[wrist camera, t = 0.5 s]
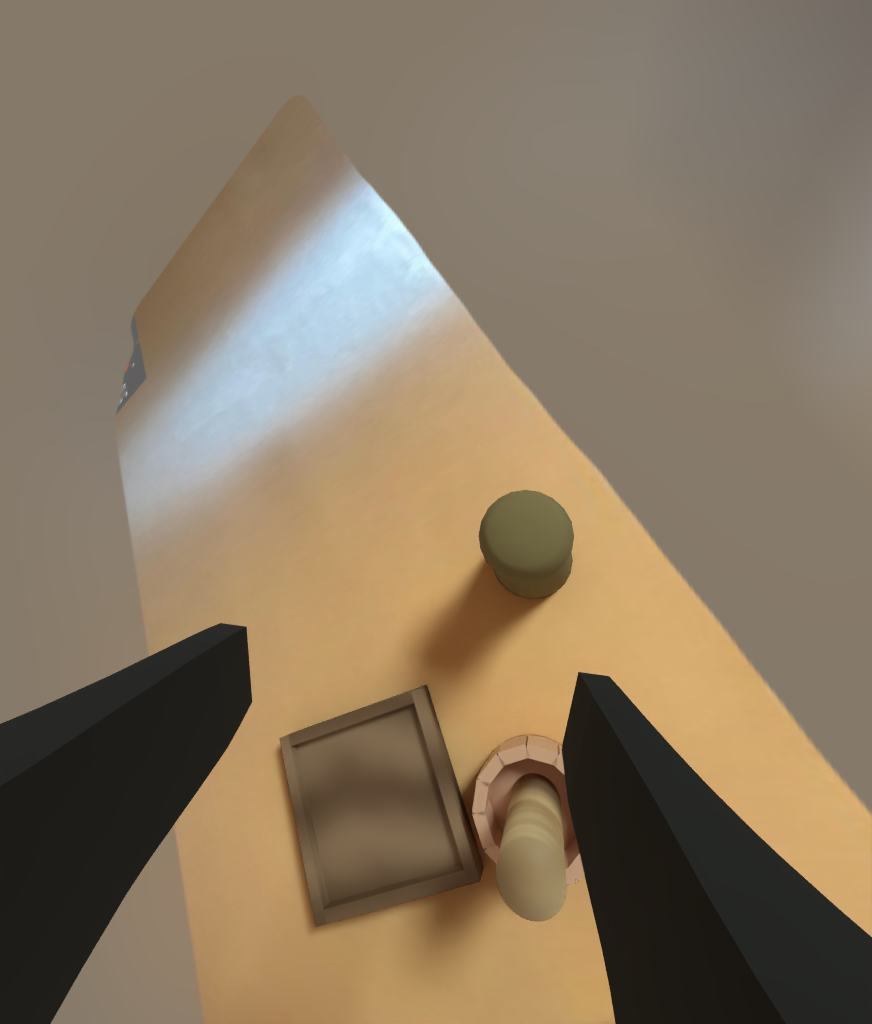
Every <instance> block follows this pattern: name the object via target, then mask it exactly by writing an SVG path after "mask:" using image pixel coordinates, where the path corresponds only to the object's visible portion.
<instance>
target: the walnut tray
mask: <svg viewBox="0 0 872 1024" xmlns="http://www.w3.org/2000/svg"><path fill="white" fill-rule="evenodd" d="M280 743H281V748H282V754H283V759H284V764H285V769H286V774H287V780H288V785H289V790H290V795H291V800H292V806H293V811H294V816H295V821H296V826H297V832H298V837H299V842H300V847H301V852H302V858H303V863H304V868H305V873H306V878H307V883H308V889H309V894H310V899H311V904H312V909H313V915H314V920H315V925H316V927H317V926H321V925H324V924H328V923H332V922H335V921H339V920H343V919H346V918H350V917H353V916H357V915H361V914H364V913H368V912H371V911H375V910H379V909H382V908H386V907H389V906H393V905H397V904H400V903H404V902H407V901H411V900H415V899H418V898H422V897H425V896H429V895H433V894H436V893H440V892H443V891H447V890H451V889H454V888H458V887H462V886H465V885H469V884H472V883H476V882H480V879H481V876H482V872H483V868H484V867H483V864H482V861H481V857H480V854H479V851H478V848H477V845H476V841H475V838H474V835H473V832H472V828H471V825H470V822H469V819H468V816H467V812H466V809H465V806H464V803H463V800H462V796H461V793H460V790H459V787H458V783H457V780H456V777H455V774H454V771H453V767H452V764H451V761H450V758H449V755H448V751H447V748H446V745H445V742H444V738H443V735H442V732H441V729H440V726H439V722H438V719H437V716H436V713H435V710H434V706H433V703H432V700H431V697H430V693H429V690H428V687H427V685H425V686H422V687H419V688H416V689H414V690H411V691H408V692H405V693H402V694H400V695H397V696H394V697H391V698H388V699H386V700H383V701H380V702H377V703H374V704H372V705H369V706H366V707H363V708H360V709H358V710H355V711H352V712H349V713H347V714H344V715H341V716H338V717H335V718H333V719H330V720H327V721H324V722H321V723H319V724H316V725H313V726H310V727H307V728H305V729H302V730H299V731H296V732H293V733H291V734H289V735H286V736H284V737H282V738H280Z"/></svg>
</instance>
